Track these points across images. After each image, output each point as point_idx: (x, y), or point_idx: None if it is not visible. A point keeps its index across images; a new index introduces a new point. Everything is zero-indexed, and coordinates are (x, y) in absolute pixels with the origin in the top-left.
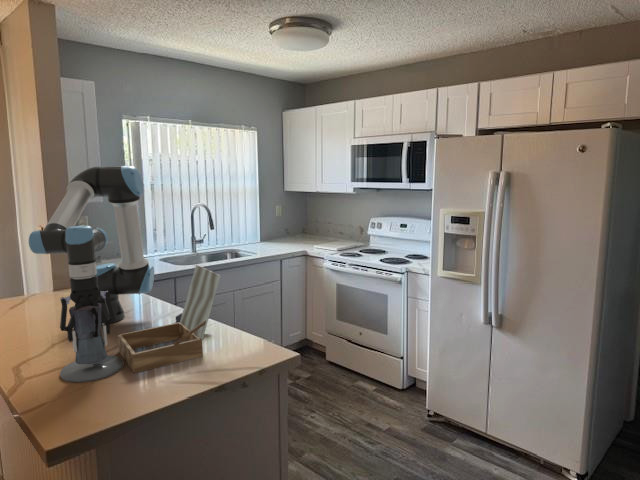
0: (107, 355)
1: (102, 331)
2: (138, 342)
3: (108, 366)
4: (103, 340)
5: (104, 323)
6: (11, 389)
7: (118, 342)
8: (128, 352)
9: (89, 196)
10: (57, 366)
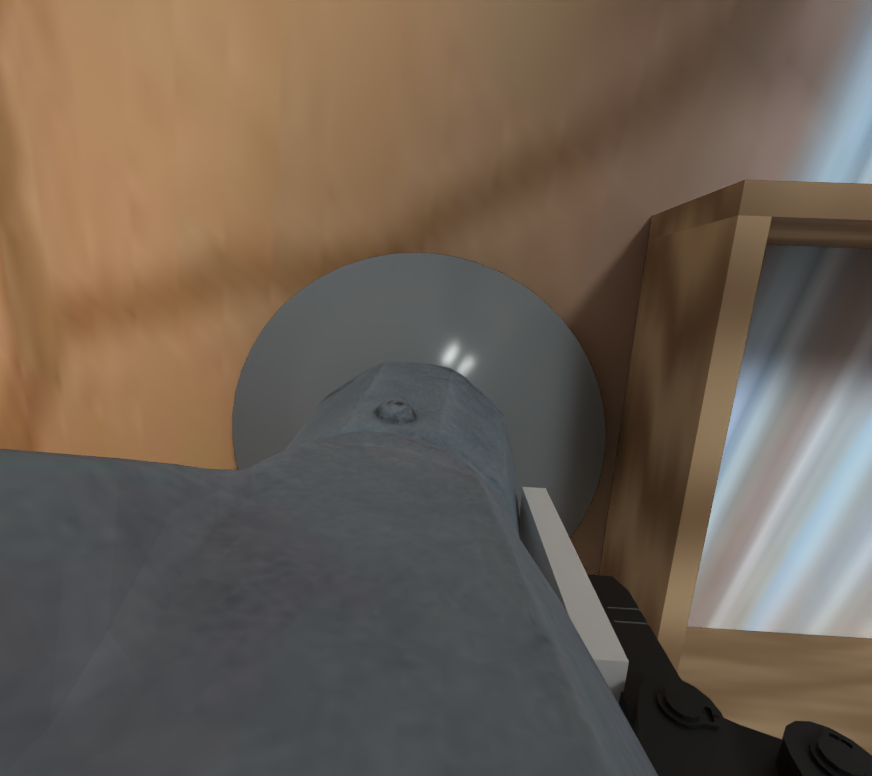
0: (546, 308)
1: (549, 566)
2: (835, 239)
3: None
4: (526, 512)
5: (622, 706)
6: (7, 426)
7: (692, 207)
8: (645, 602)
9: None
10: (231, 228)
